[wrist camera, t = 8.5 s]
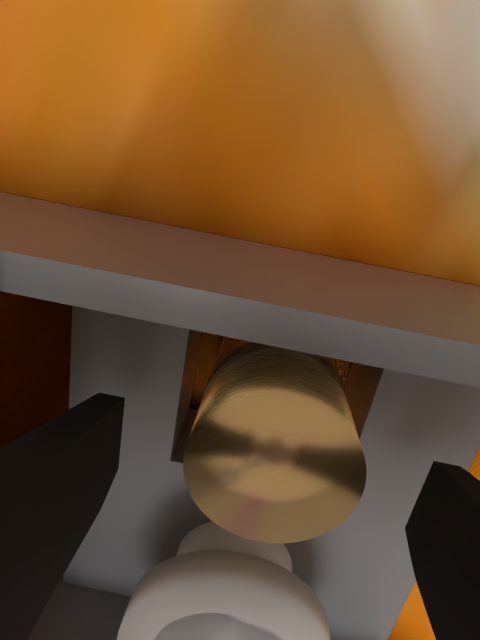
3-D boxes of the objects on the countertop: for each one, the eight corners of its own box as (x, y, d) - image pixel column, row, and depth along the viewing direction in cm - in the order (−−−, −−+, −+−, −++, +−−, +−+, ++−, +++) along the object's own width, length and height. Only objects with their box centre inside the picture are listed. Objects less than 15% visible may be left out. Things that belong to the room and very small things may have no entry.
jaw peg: (346, 318, 14) (392, 420, 8) (314, 416, 15) (335, 559, 10) (231, 292, 14) (199, 375, 8) (210, 392, 15) (170, 521, 10)
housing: (360, 587, 18) (399, 786, 12) (-162, 476, 18) (-365, 616, 13) (483, 287, 13) (649, 379, 7) (-234, 146, 13) (-623, 125, 8)
